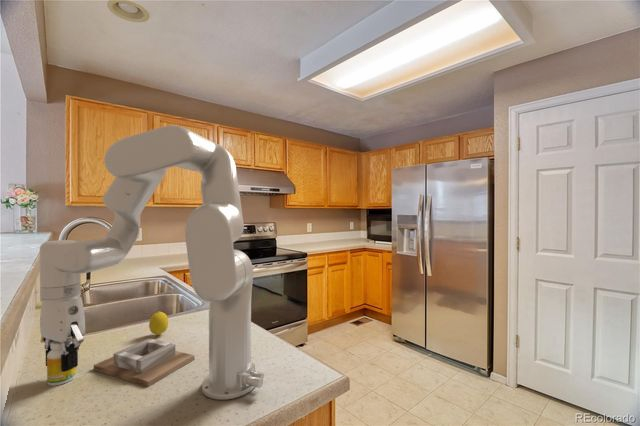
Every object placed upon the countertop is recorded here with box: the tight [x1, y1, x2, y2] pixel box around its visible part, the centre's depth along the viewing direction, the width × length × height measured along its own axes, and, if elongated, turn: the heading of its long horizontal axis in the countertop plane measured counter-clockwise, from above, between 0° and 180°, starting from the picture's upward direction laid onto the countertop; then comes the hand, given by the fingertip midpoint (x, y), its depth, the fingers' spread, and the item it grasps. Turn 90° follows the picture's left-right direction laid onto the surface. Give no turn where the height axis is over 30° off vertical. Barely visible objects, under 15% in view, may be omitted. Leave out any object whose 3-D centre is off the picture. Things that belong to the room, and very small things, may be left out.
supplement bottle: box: [46, 337, 77, 387], centre depth 74 cm, size 5×5×10 cm
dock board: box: [93, 338, 195, 387], centre depth 82 cm, size 20×14×4 cm
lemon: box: [148, 311, 169, 337], centre depth 101 cm, size 6×6×8 cm
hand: (61, 365), depth 74 cm, fingers closed on supplement bottle, 5 cm apart
